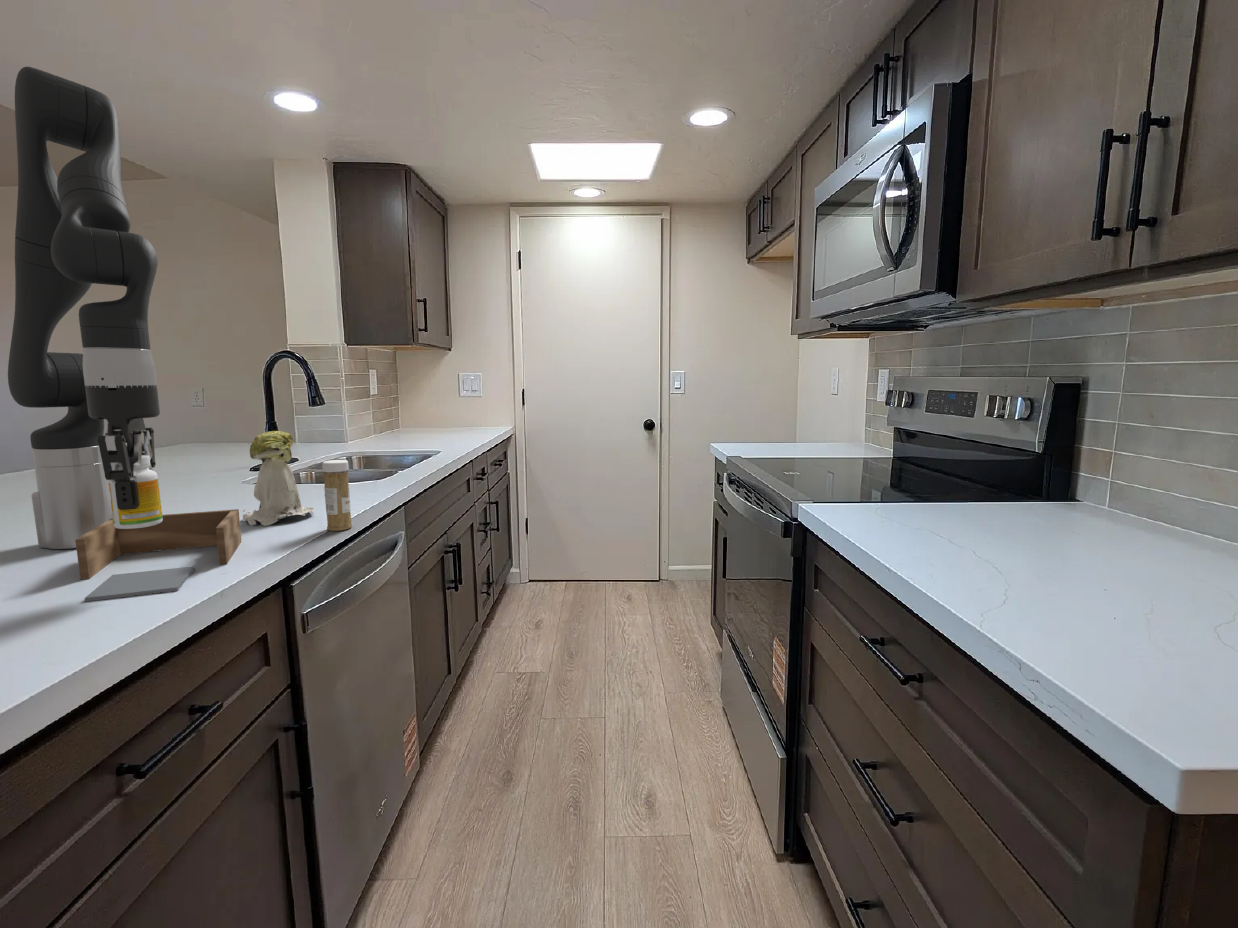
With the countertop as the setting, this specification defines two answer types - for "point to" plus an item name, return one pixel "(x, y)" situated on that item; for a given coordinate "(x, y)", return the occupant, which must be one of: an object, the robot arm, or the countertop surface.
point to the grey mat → (141, 583)
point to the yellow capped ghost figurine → (274, 480)
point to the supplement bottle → (148, 500)
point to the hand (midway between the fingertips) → (136, 504)
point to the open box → (160, 538)
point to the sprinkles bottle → (337, 495)
